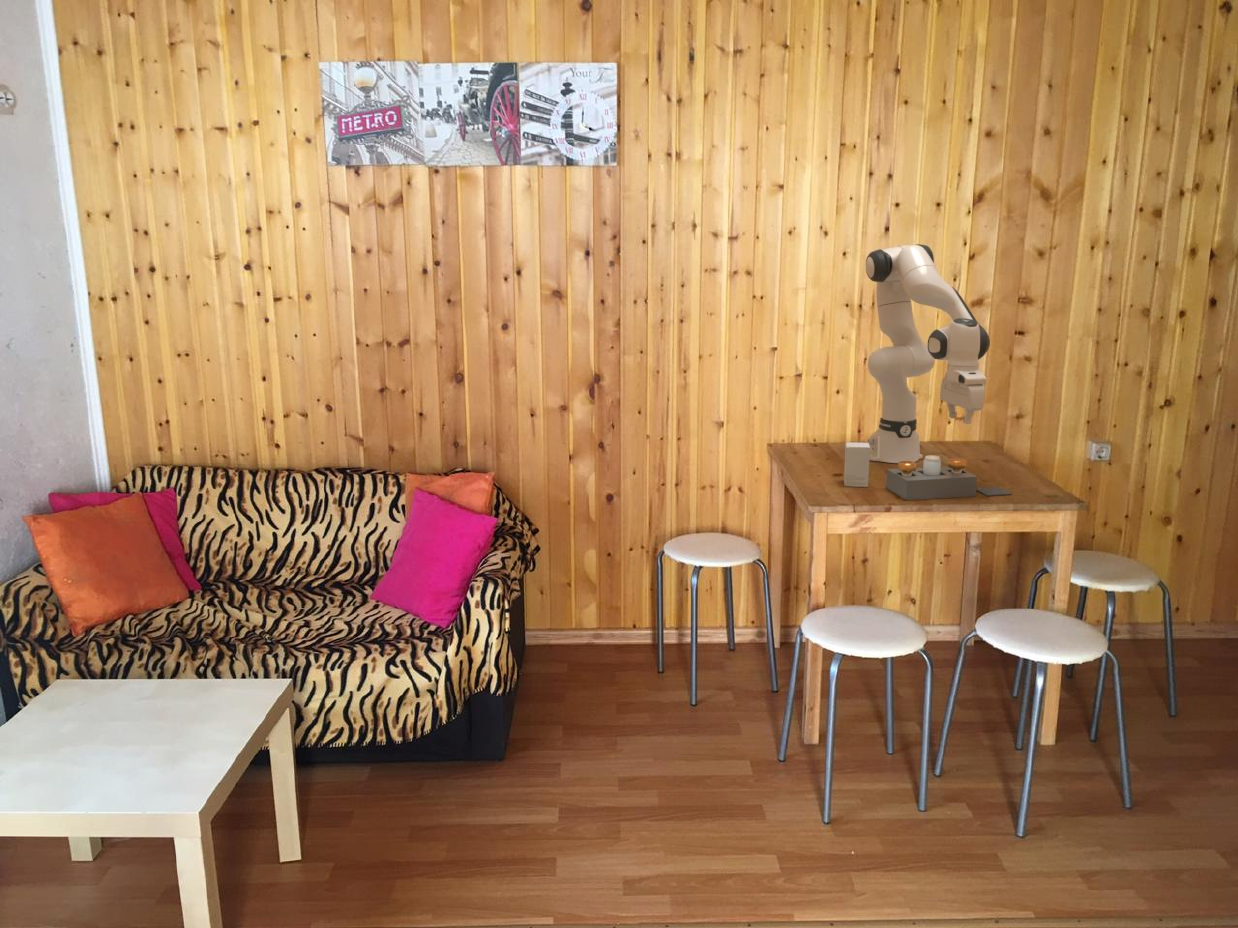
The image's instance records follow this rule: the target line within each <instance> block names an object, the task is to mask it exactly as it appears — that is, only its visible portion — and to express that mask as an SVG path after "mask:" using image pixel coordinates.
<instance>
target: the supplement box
mask: <svg viewBox="0 0 1238 928" xmlns="http://www.w3.org/2000/svg"><path fill="white" fill-rule="evenodd" d="M869 458H870V445H869V443H868V442H856V441H855V442H845V448H844V467H843V468H844V469H843V470H844V472H843V485H844V487H854V488H857V487H858V488H868V487H869V478H870V477H869V476H870V474H869V473H870V459H869Z"/></svg>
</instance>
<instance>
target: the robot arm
mask: <svg viewBox="0 0 1238 928" xmlns="http://www.w3.org/2000/svg"><path fill="white" fill-rule="evenodd" d="M934 257H935V256H934V253H933V250H932V249H931V248H930V246H928V245H925V244H920V243H917V244H907V245H905V244H904V245H897V246H893V247H887V248H883V249H880V248H879V249H876V250H873V251H871V252H870V253H869V254H868V255H867V257H866V259H865V273H866V275H867V277H868V279H870V281H871V282H875V283H876V288H875V289H876V293H875V295H876V296H875V297H876V307H877V314H878V316H877V317H878V322H879V329H880V331H881V332H882V333H883V334H885V336H887V337H888V338H889V339H890V341H891V343H892V346H885V347H883V348H879V349H876V350H875V351H873V352H872V353H870V355H869V357H868V359H867V369H868V372H869V374H870V375H871V376H872V377H873V379H875V380H876V381H877V384H878V385H879V388H880V391H881V398H882V399H881V400H882V401H881V404H882V405H881V406H882V407H881V410H882V411H881V417H879V423H878V428H877V430H875V432H874V433H872V435H870V437H869V438H868V439H867V443H869V446H870V458H869V461H872V462H883V463H888V464H889V463H890V464H898V462H900V461H912V462H915V463H917V462H918V461H919V460H921V459H924V454H922V453H920V450H921V449H920V435H919V433H918V432H917V426H918V425H917V424H918V423H917V422H918V421H917V418H916V416H917V415H916V413H917V396H916V394H915V393H914V392H913V391H911V390H910V388H909V387H908V383H907V381H908V380H907V378H915V377H920V376H923V375H925V374H927V373H929V372H931V371H932V369H933V368H934V366H935V364H936V363H935V362H936V360H938V361H947V365H946V373H945V374H944V377H943V378H942V380H941V383H940V384H941V385H940V396H939V397H940V401H941V402H942V401H943V402H945V403H946V406H947V410H948V411H947V412H948V418H950V419H956V418H957V414H958V413H957V411H956V407H959V408H961V409H965V415H964V417H962V419H963V421H962V422H963V423H964V424H966V425H969V424H971V423H972V418H973V416H974V414H975V411H977V412H979V411H982V410H983V407H984V405H985V404H984V403H985V396H986V395H985V393H986V391H985V389H986V388H985V384H987V377H986V376H985V375H984V374H983V372H982V371H981V370H980V369H979V367H980V363H979V360H980V359H981V358H983V357H984V356H985V355H986V353H987V352H988V351H989V348H990V346H991V340H990V336H989V334H988V332H987V331H986V329H985V328H984V327H983V326H981V324H980V323H979V322H978V321H977V319H976V318H975V316H974V315H973V313H972V311H971V310H970V308H969V306H968V305H967V303H966V302H965V300H964V299H963V298H962V296H961V295H960V293H959V291H958V290H957V289H956V288H954V287H953V286H951V284H949V283H948V282H947V281H946V280H945V279H944V278H943V277H942V276H941V275H940V273H939V271H938V270H937V269H938V268H937V267H936V265H935V261H934V260H935V258H934ZM912 302H914V303H917V304H919V305H923V306H928V307H931V308H935V309H939V310H941V311H943V312H945V313H946V314H947V315H949V317H950V318H951V322H950V323H949V324H948V325H946V326H944V327H941V328H937V329H934V330H933V331H932V332H931V334H930V335H929V337H928V340H927V344H926V343H925V342H924V340H923V339H922V337H921V336H920V334H919V332H918V330H917V326H916V324H915V318H914V313H913V306H912Z"/></svg>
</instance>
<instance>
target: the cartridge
mask: <svg viewBox="0 0 1238 928" xmlns="http://www.w3.org/2000/svg"><path fill="white" fill-rule="evenodd" d="M940 458H941V457H940V456H939V455H935V454H934V455H932V454H929V455H927V454H926V455H925V457H924V458H923V463H922V464H923V466H922V467H923V475H925V476H938V475H940V471H941V466H942V459H940Z"/></svg>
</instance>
